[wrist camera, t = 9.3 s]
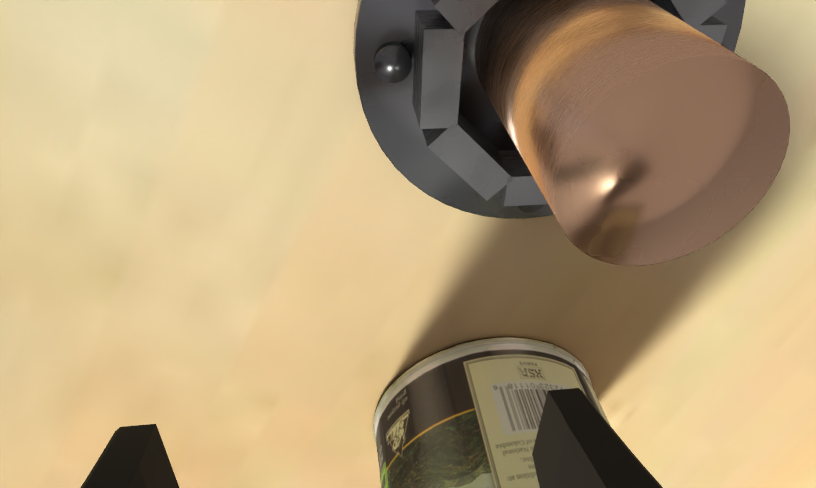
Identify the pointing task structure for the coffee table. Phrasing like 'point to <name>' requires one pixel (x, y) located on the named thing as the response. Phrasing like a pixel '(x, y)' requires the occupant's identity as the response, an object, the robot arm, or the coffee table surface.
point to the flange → (463, 98)
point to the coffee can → (472, 414)
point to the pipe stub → (631, 123)
